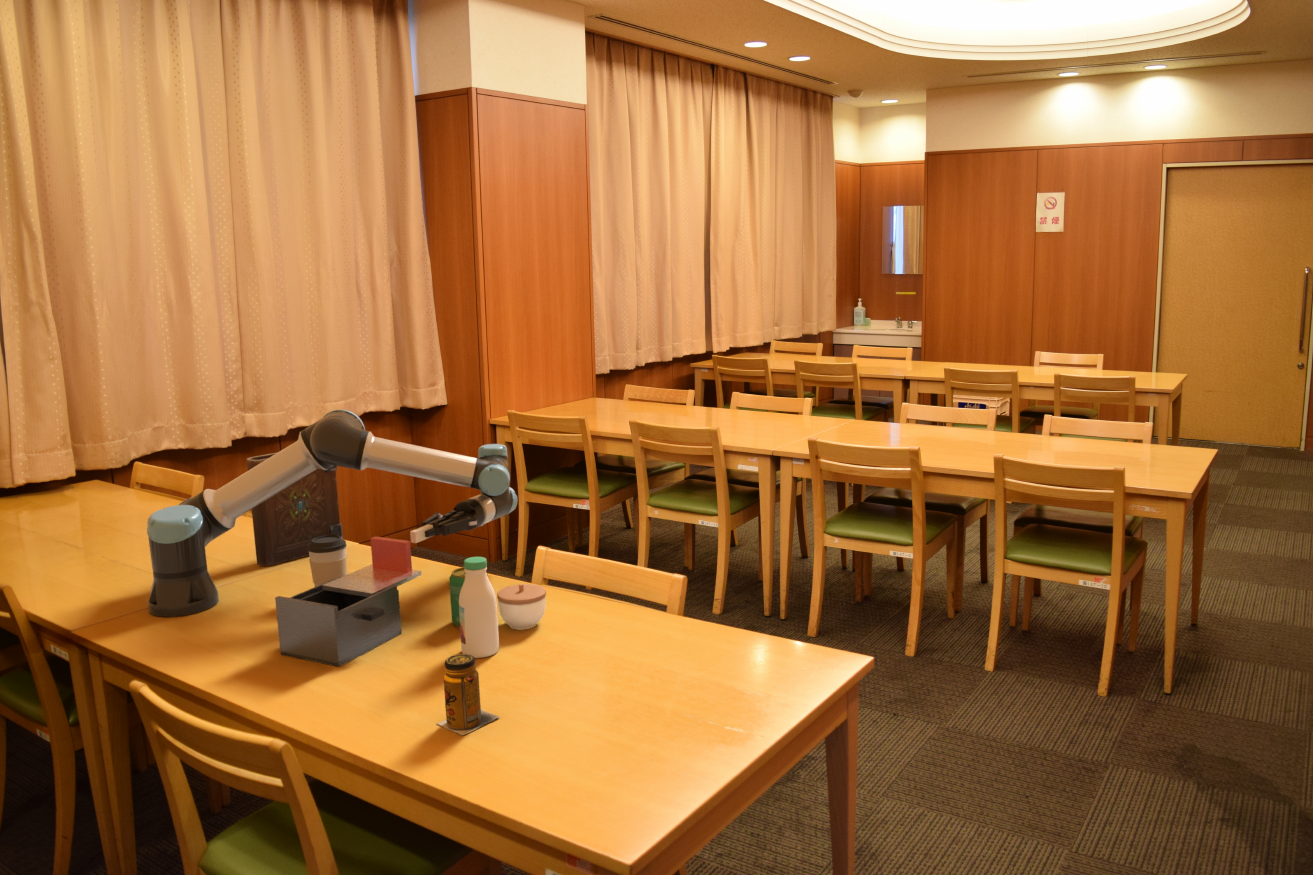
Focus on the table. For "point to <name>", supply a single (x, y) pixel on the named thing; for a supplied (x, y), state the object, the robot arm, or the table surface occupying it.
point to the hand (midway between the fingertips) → (413, 537)
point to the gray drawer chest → (336, 624)
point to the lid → (378, 569)
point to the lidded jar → (522, 605)
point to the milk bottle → (478, 611)
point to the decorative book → (295, 516)
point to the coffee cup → (327, 558)
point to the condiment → (463, 696)
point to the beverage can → (456, 593)
